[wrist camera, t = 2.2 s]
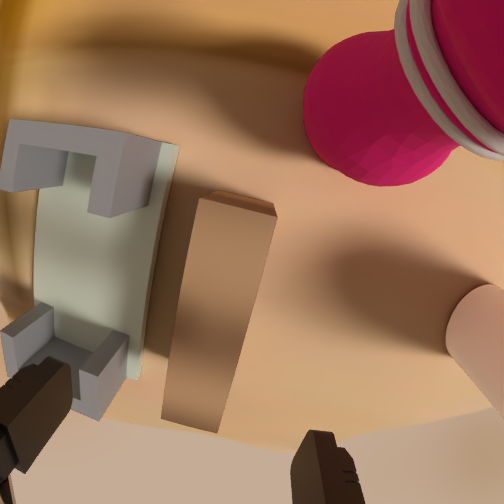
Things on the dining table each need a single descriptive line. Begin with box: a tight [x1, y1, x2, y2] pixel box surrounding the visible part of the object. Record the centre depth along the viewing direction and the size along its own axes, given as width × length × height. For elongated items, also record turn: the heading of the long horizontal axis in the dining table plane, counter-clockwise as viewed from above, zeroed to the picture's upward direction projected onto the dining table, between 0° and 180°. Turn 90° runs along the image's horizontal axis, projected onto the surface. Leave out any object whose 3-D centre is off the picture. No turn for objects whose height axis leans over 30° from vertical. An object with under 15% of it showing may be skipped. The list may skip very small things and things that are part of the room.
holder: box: [0, 119, 180, 421], centre depth 17 cm, size 16×9×6 cm, turn 166°
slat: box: [161, 190, 277, 433], centre depth 17 cm, size 12×3×6 cm, turn 166°
